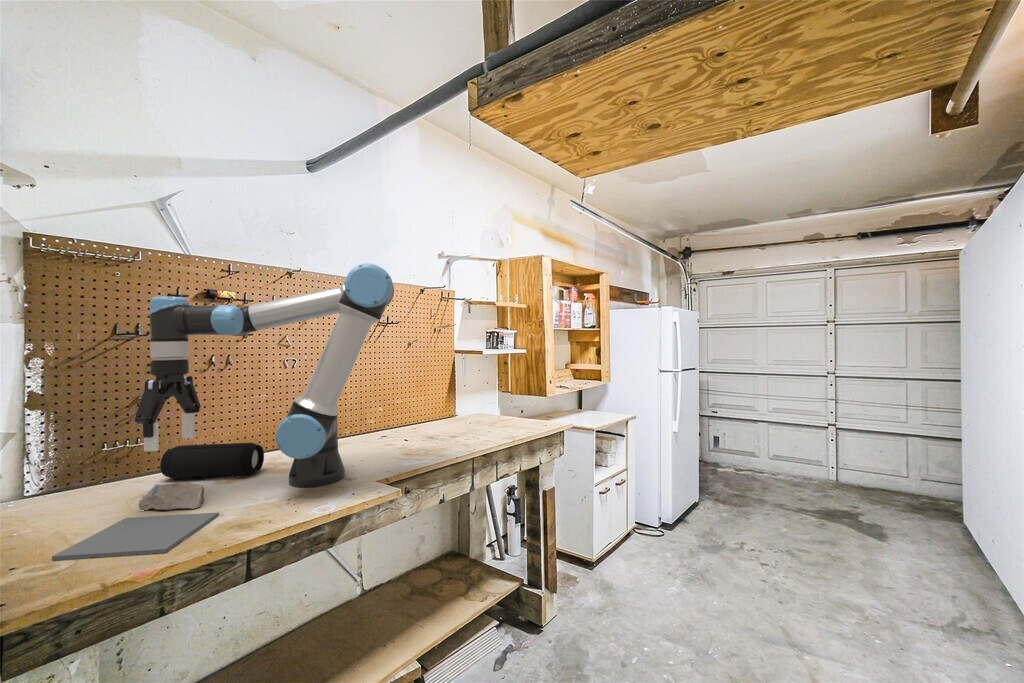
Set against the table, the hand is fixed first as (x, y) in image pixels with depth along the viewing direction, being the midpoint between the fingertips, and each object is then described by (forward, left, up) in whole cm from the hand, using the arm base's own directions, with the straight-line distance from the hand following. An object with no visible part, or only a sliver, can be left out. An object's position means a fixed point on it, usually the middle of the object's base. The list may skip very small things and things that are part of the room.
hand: (171, 444), depth 108 cm
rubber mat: (-5, +17, -16) cm, 24 cm away
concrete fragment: (-1, 0, -16) cm, 16 cm away
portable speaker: (+4, -25, -16) cm, 30 cm away
